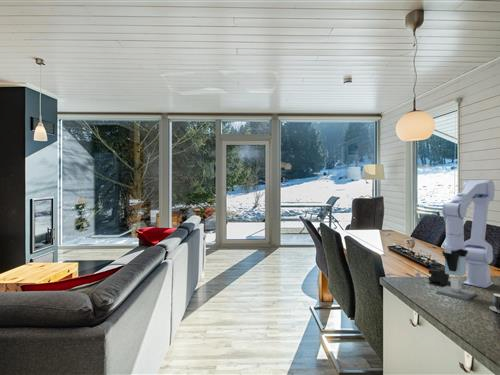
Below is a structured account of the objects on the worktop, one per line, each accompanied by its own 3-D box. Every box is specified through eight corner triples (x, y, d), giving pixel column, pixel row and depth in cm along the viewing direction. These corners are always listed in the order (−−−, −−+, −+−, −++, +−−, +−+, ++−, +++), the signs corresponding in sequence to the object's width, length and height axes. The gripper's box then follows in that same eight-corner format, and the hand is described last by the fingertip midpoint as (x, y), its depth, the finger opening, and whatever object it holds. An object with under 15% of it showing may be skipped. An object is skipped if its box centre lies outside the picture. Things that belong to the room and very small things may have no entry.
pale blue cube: (450, 271, 120) (450, 254, 121) (465, 274, 116) (465, 256, 116) (445, 273, 117) (444, 256, 117) (460, 276, 113) (460, 258, 113)
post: (453, 289, 118) (453, 276, 119) (461, 291, 116) (461, 278, 116) (450, 291, 117) (450, 278, 117) (458, 292, 115) (458, 279, 115)
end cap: (448, 287, 125) (448, 270, 125) (428, 284, 129) (428, 268, 129) (450, 281, 133) (449, 265, 133) (431, 278, 137) (431, 263, 137)
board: (446, 288, 124) (446, 285, 124) (476, 294, 116) (476, 291, 116) (436, 293, 118) (436, 290, 118) (466, 300, 110) (466, 297, 110)
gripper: (450, 231, 125) (451, 264, 124) (435, 234, 116) (436, 270, 116) (470, 233, 119) (471, 268, 119) (456, 236, 110) (457, 274, 110)
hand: (455, 269), depth 117 cm, fingers closed on pale blue cube, 5 cm apart
